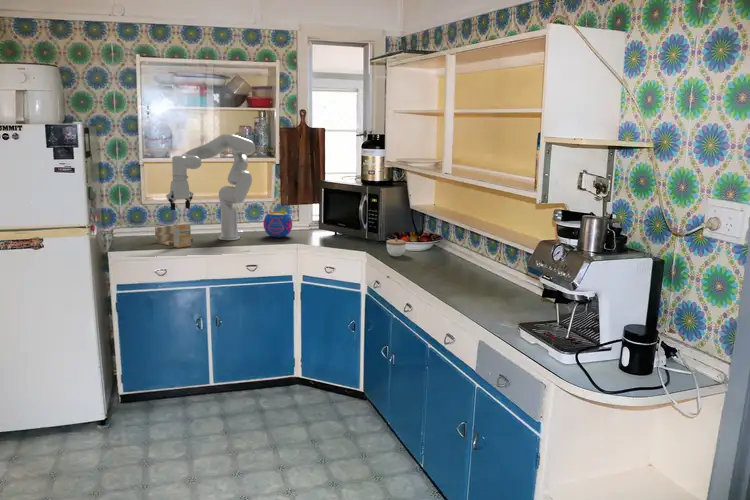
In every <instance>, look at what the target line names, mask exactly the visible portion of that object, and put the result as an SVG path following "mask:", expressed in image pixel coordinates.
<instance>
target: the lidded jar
mask: <svg viewBox="0 0 750 500" xmlns="http://www.w3.org/2000/svg"><path fill="white" fill-rule="evenodd" d="M406 243H407V242H406V240H402V239H398V238H397V237H396V238H395V239H388V240H386V250H387V252H388V253H389V255H390V256H392V257H401V256H402V255H403V254H404V253H405V250H406V245H407V244H406Z"/></svg>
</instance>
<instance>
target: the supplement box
mask: <svg viewBox="0 0 750 500" xmlns="http://www.w3.org/2000/svg"><path fill="white" fill-rule="evenodd" d="M173 225H174V245H173V247H174V248H177V249H180V248H186V247H191V246H192V242H191V238H192V237H191V233H192V232H191V231H192V230H191V223H190V222H182V223H181V222H179V223H173Z"/></svg>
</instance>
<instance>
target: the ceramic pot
mask: <svg viewBox="0 0 750 500" xmlns="http://www.w3.org/2000/svg"><path fill="white" fill-rule="evenodd" d="M262 225H263V229H264V231H265V233H266V234H267V235H268V236H270V237H272V238H279V239H280V238H284V237H286V236H288V235H290V233H291V231H292V229H293V220H292V217H291V216H290V214H289V213H288V212H287V211H286V212H285V211H271V212H270V211H269V212H268V213H267V214H266V215H265V217H264V219H263V224H262Z"/></svg>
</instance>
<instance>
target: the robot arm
mask: <svg viewBox="0 0 750 500" xmlns="http://www.w3.org/2000/svg"><path fill="white" fill-rule="evenodd" d="M226 150H231V152H232V153H233V159H234V160H233V163H232V166H231V168H230V171H229V173H228V174H227V175H228V176H227V182H228V183H229V185H224V186H222V187H220V189H219V190H218V200H219V204H220V232H221V233H220V234H221V235H219V236H218V239H219V240H221V241H237V240H240V239H241V236H240V235H243V234H244V231H243V230H238V208H237V207H238V206H237V204H239V205H240V204H242V203H243V202H244V201H245V200H246V198H247V196H248V193H249V191H250V188H251V186H252V182H253V178H252V174H251V172H249V171H248V170H247V169H248V167H249V157H248V156H251V155H252V154H254V153H255V152H256V144H255V143H254V142H253V141H252V140H250V139H248V138H245V137H241V136H239V135H236V134H232V133H231V134H228V133H222V134H220V135H219V136H217V137H214V139H212V140H210V141H209V142H207V143H205V144H203V145H199V146H197V147H194V148H192V149H189V150H188V151H186V152H184V153H182V155H174V156H172V160H171V161H172V163H171V166H172V167H171V168H172V169H171V170H172V180H171V182H170V188H169V193H168V194H166V195H165V197H166V199H167V201H168V202H169V204H170V210H171V211H176V203H175V202H176V201H177V200H185V202H184V203H185V209H188V210H189V209H190V208H191V202H192V199H193V197H194V195H195V194H194V193H193V192H192V191H190V185H189V181H188V179H189V176H188V173H187V172H188V169H190V170H197V169H199V168H200V167H201V166H202V160H206V159H212V158H215V157H216V156H218V155H219V154H221V153H223V152H225V151H226ZM231 185H232V186H231Z"/></svg>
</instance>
